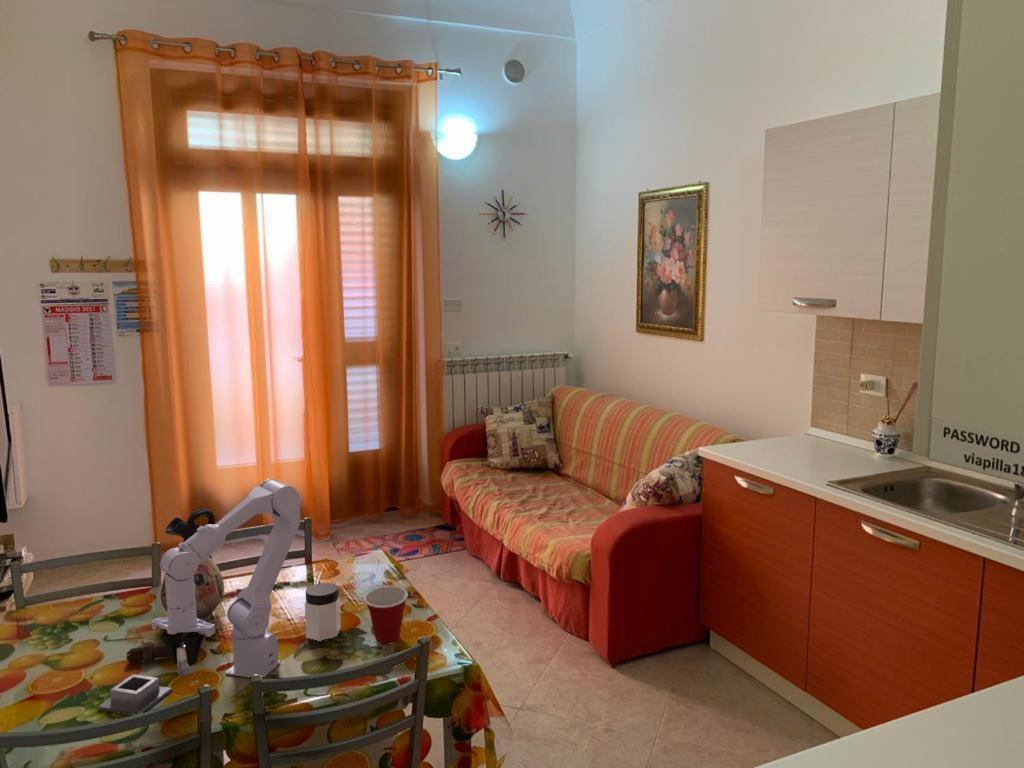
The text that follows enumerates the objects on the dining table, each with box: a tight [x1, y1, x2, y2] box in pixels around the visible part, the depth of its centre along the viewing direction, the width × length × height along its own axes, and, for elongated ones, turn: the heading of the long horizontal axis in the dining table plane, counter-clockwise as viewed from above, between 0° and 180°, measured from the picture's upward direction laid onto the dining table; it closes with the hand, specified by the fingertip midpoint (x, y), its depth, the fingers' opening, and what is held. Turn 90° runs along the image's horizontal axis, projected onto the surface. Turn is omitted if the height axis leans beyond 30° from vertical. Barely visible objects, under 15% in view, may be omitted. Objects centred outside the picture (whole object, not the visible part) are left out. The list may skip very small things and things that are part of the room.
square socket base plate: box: [97, 673, 173, 716], centre depth 161 cm, size 10×10×4 cm
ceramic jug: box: [160, 507, 227, 622], centre depth 199 cm, size 17×15×30 cm
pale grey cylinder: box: [176, 642, 195, 676], centre depth 164 cm, size 3×3×6 cm
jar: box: [304, 582, 341, 642], centre depth 191 cm, size 9×8×12 cm
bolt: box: [126, 641, 171, 665], centre depth 179 cm, size 6×5×15 cm
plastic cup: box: [363, 585, 409, 645], centre depth 188 cm, size 11×11×12 cm
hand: (185, 662), depth 164 cm, fingers closed on pale grey cylinder, 3 cm apart
